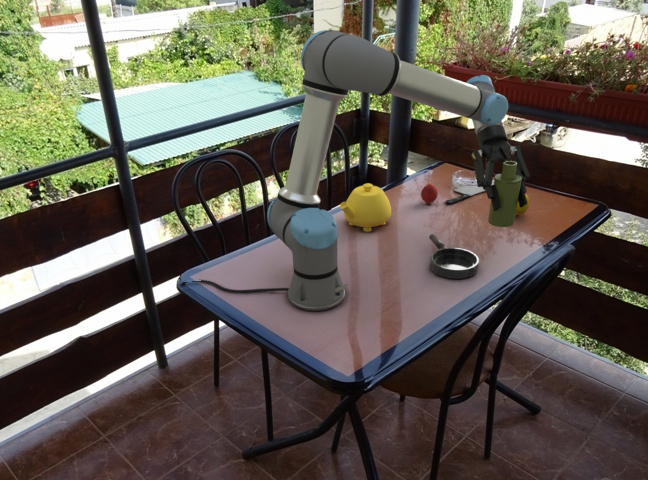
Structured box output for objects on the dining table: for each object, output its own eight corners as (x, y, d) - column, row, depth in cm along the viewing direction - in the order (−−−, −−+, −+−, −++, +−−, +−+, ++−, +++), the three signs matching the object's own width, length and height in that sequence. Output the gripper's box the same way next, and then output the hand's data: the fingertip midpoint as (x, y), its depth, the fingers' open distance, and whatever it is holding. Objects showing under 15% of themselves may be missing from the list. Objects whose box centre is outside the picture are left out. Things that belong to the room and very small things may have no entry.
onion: (438, 206, 195) (440, 184, 191) (422, 207, 196) (423, 185, 191) (435, 200, 200) (436, 178, 196) (418, 200, 200) (420, 179, 196)
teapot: (357, 242, 176) (358, 202, 168) (324, 227, 186) (323, 189, 179) (400, 223, 186) (402, 184, 178) (366, 210, 196) (367, 172, 189)
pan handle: (441, 253, 164) (442, 248, 163) (428, 238, 172) (428, 233, 171) (447, 252, 164) (447, 247, 163) (433, 238, 172) (434, 232, 171)
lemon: (528, 213, 186) (532, 190, 182) (524, 219, 182) (529, 197, 178) (511, 210, 189) (515, 188, 185) (507, 216, 185) (511, 194, 181)
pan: (440, 283, 153) (441, 272, 151) (422, 260, 164) (423, 251, 162) (485, 276, 154) (487, 266, 153) (464, 254, 165) (466, 245, 164)
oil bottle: (495, 228, 153) (504, 168, 144) (483, 218, 159) (492, 160, 149) (518, 225, 154) (529, 165, 144) (506, 215, 159) (515, 157, 150)
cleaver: (430, 197, 202) (451, 205, 195) (430, 195, 202) (451, 204, 195) (484, 178, 215) (506, 185, 208) (485, 176, 215) (506, 183, 207)
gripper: (516, 133, 159) (537, 207, 155) (451, 141, 157) (470, 217, 152) (529, 119, 152) (552, 197, 147) (461, 127, 150) (482, 206, 145)
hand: (510, 207), depth 150 cm, fingers closed on oil bottle, 7 cm apart
